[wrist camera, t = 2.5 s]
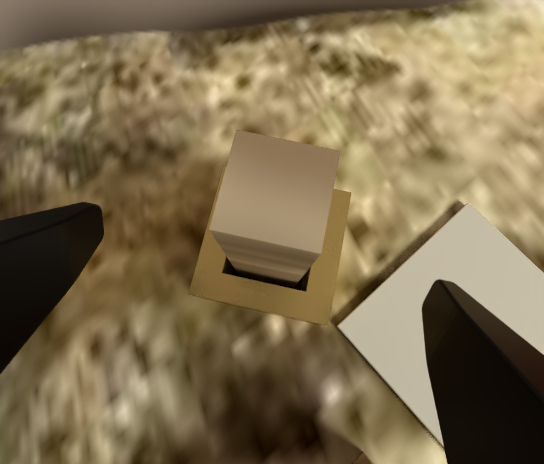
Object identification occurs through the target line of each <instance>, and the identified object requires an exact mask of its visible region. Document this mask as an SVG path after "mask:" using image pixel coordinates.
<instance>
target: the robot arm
mask: <svg viewBox="0 0 544 464" xmlns="http://www.w3.org/2000/svg"><path fill="white" fill-rule="evenodd" d="M103 236H104V227H103V218H102V210H101V208H100V206H98V205H96V204H92V203H87V202H81V203H77V204H72V205H68V206H63V207H59V208H54V209H50V210H45V211H41V212H36V213H32V214H27V215H23V216H18V217H14V218H9V219H5V220H0V374H1V373H2V372H3V370H4V369H5V368H6V367H7V365H8V364H9V363H10V362H11V360H12V359H13V358H14V357H15V356H16V354H17V353H18V352H19V351H20V349H21V348H22V347H23V346H24V344H25V343H26V342H27V341H28V339H29V338H30V337H31V336H32V335H33V333H34V332H35V331H36V330H37V328H38V327H39V326H40V325H41V323H42V322H43V321H44V320H45V319H46V317H47V316H48V315H49V314H50V312H51V311H52V310H53V309H54V307H55V306H56V305H57V304H58V303H59V301H60V300H61V299H62V298H63V296H64V295H65V294H66V293H67V291H68V290H69V289H70V288H71V286H72V285H73V284H74V282H75V281H76V279H77V278H78V277H79V275H80V273H81V272H82V270H83V269H84V267H85V266H86V264H87V263H88V261H89V259H90V258H91V256H92V255H93V253H94V252H95V250H96V249H97V247H98V245H99V244H100V242H101V241H102V239H103ZM422 321H423V332H424V343H425V355H426V363H427V368H428V374H429V378H430V383H431V388H432V392H433V397H434V402H435V407H436V411H437V416H438V421H439V426H440V430H441V435H442V440H443V444H444V449H445V454H446V459H447V463H448V464H544V355H543V354H542V353H541V352H540V351H538V350H537V349H536V348H535V347H533V346H532V345H531V344H530V343H528V342H527V341H526V340H525V339H524V338H522V337H521V336H520V335H519V334H517V333H516V332H515V331H514V330H512V329H511V328H510V327H509V326H507V325H506V324H505V323H504V322H502V321H501V320H500V319H499V318H498V317H496V316H495V315H494V314H493V313H491V312H490V311H489V310H488V309H486V308H485V307H484V306H483V305H481V304H480V303H479V302H478V301H476V300H475V299H474V298H473V297H472V296H470V295H469V294H468V293H467V292H465V291H464V290H463V289H462V288H460V287H459V286H458V285H457V284H455V283H454V282H451V281H446V280H442V279H438V280H436V281H435V282H434V283H433V284H432V286H431V288H430V290H429V292H428V294H427V296H426V298H425V300H424V302H423V304H422Z"/></svg>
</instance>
